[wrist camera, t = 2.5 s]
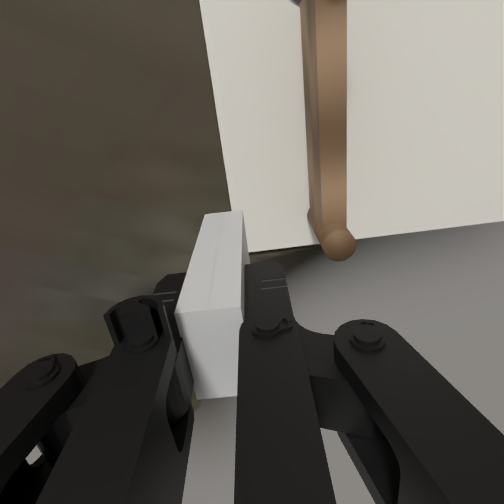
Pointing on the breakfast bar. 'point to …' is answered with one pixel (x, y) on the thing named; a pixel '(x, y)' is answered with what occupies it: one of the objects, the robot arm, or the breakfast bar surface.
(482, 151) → the card
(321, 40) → the bar
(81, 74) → the breakfast bar surface
